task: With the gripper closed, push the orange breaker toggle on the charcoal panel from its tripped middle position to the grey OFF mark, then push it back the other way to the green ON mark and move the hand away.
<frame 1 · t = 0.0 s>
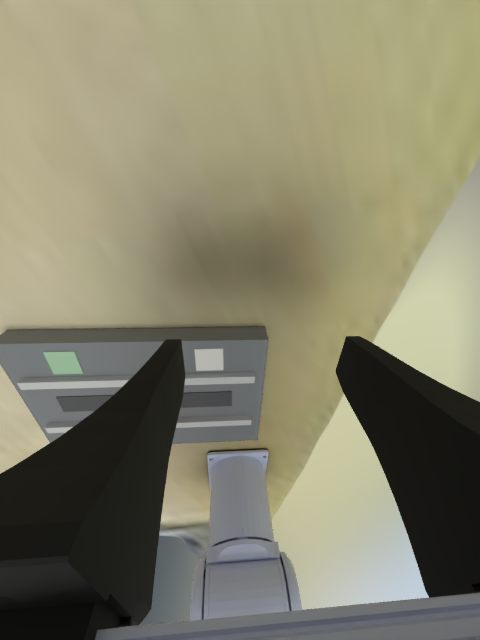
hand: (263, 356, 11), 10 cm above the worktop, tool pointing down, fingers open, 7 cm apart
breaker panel: (153, 385, 25), on the worktop
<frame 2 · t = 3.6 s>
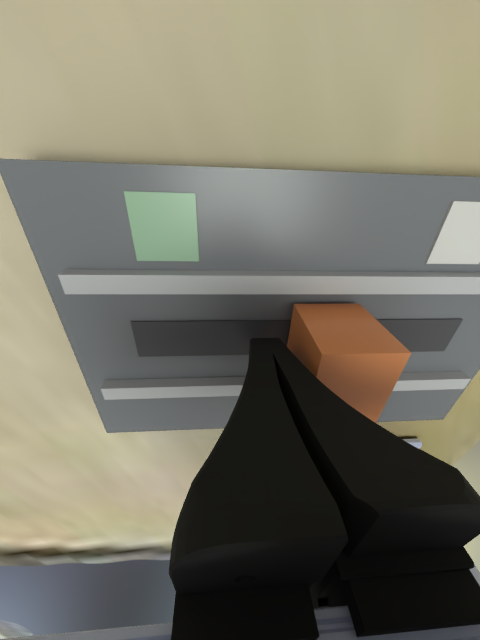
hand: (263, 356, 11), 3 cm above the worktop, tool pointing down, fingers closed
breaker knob: (332, 364, 10), point 4 cm above the worktop, slide at -0.8 cm, touching gripper
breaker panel: (291, 316, 14), on the worktop
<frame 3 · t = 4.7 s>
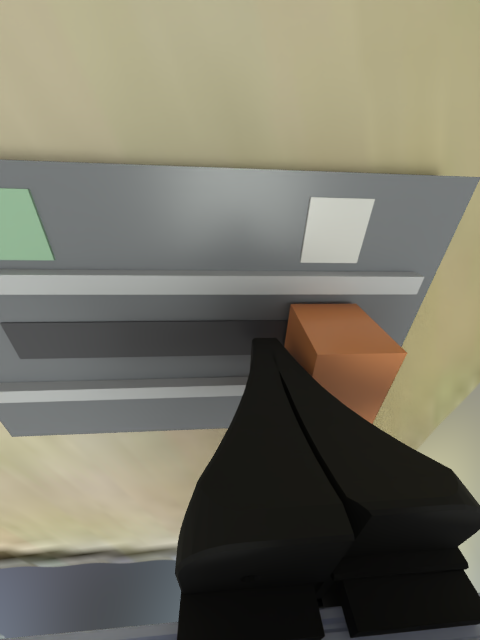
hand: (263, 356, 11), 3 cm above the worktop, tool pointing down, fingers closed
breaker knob: (328, 364, 10), point 4 cm above the worktop, slide at -6.1 cm, touching gripper
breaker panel: (193, 317, 13), on the worktop
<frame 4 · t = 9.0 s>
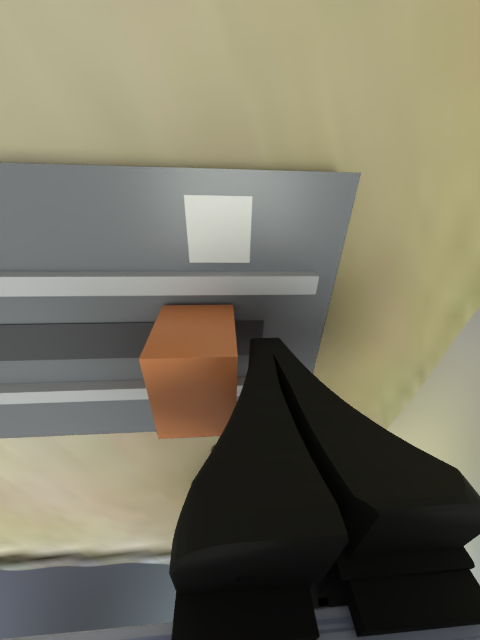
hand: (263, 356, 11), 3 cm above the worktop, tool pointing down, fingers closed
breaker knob: (197, 367, 10), point 4 cm above the worktop, slide at -5.0 cm, touching gripper
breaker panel: (109, 319, 13), on the worktop
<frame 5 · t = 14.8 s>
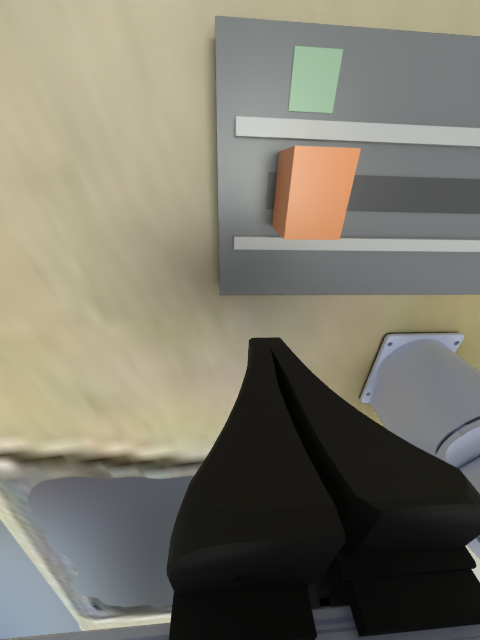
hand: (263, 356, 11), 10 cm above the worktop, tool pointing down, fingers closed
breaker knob: (308, 194, 13), point 4 cm above the worktop, slide at 6.1 cm
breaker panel: (374, 192, 17), on the worktop
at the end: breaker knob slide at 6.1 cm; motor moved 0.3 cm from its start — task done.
